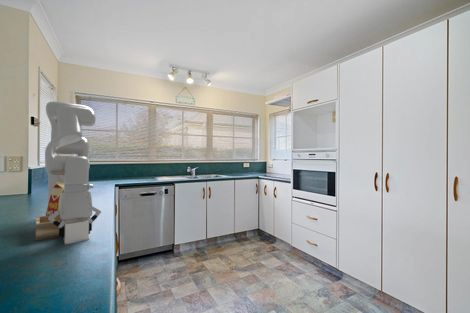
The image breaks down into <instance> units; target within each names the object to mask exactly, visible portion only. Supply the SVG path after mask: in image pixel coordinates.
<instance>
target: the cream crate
mask: <svg viewBox="0 0 470 313" xmlns="http://www.w3.org/2000/svg"><path fill="white" fill-rule="evenodd" d="M89 236H90V234H89V221H88V219H87V218H81V219H74V220H67V221H66V222H65V224H64V239H63V242H64V245H69V244H73V243H79V242H84V241H89V240H90V239H89V238H90V237H89Z"/></svg>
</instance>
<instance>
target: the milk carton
mask: <svg viewBox="0 0 470 313" xmlns="http://www.w3.org/2000/svg"><path fill="white" fill-rule="evenodd" d="M62 193H64V183H61V182H57V181H56V185H55V186H54V187H53V189H52V192H51V195H50V199H49V202H48V201H47V207H46V211H45V215H46V216H50V215H52V214H54V213H55V212H57V211H58V210H59V205H60V198H61V194H62Z"/></svg>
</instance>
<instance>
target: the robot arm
mask: <svg viewBox="0 0 470 313" xmlns="http://www.w3.org/2000/svg"><path fill="white" fill-rule="evenodd" d="M45 111H46V112H45V113H46V116H47V118H48V121H49V123H50V127H51V131H50V141H49V142H48V143H47V146H45V150H44V164H45V171H46V173H47V188H48V189H47V203H48V202H49V199H50V195H51V192H52V189H53V187H54V186H55V185H56V181H57V182H61V183H64V193H62V194H61V198H60V205H59V210H58V211H57V212H55V213H54V214H52V215H51V216H50V217H48V220H50V221H51V222H52V223H53V224H54V225H56V226H57V227H59V236H61V240H62V239H63V240H64V226H63V225H64V224H65V222H66V221H67V220H74V219H81V218H87V219H88V221H89V235H90V234H91V231H93V222H94V221H96V220H97V218H98V217H99V215H100V214H101V213H102V210H100V209H98V208H97V207H95V206H93V199H92V193H91V190H90V189H93V188H94V186H93V184H90V183H89V170H90V166H91V163H90V160H89V150H90V149H89V148H90V146H89V145H90V144H89V140H88V139H86V137H83V129H82V126H83V127H93V126H94V125H95V123H96V120H97V119H96V118H97V117H96V114H95V112H94V110H93V109H92V108H91V107H89V106H88V105H83V104H76V103H70V102H63V101H48V102H47V103H46V104H45ZM55 154H57V155H55ZM93 212H95V213H94V214H93ZM58 215H59V218H60V220H61V221H60V222H58V221H57V220H55V219H54V218H55V217H56V216H58ZM44 216H46V214H45V215H44Z"/></svg>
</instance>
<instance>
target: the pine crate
mask: <svg viewBox="0 0 470 313" xmlns="http://www.w3.org/2000/svg"><path fill="white" fill-rule="evenodd" d="M50 216H51V215H50ZM50 216H45V215H44V216H36V219H35V242H37V241H44V240H49V239H55V238H60V237H61V236H59V227H57V226H56V225H54V224H53V223H52V222H51V221H50V220H48V217H50ZM54 219H55V220H57V221H58V222H60V221H61V220H60V218H59V215H58V216H56V217H55V218H54ZM63 226H64V225H63Z"/></svg>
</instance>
